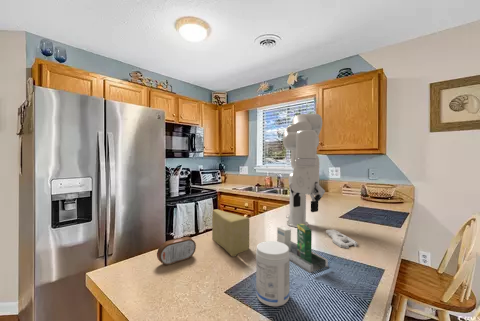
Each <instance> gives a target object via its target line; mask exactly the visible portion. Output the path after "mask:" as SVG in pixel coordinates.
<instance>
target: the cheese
mask: <svg viewBox="0 0 480 321" xmlns="http://www.w3.org/2000/svg"><path fill="white" fill-rule="evenodd" d="M211 217H212V220H211V222H212V224H211V225H212V226H211V227H212V231H211V236H212V237H211V239H212V241H214V242H215V243H217V244H218V245H219V246H220V247H222V248H223V249H224V250H225V251H226V252H227V253H228V254H229V255H230V256H231V257H237V256H238V254H240V253H243V252H246V251H248V250H250V218H249V217H247V216H243V215H241V214H236V213H231V212H227V211H223V210H222V209H213V210H212V216H211Z"/></svg>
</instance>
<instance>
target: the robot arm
mask: <svg viewBox="0 0 480 321" xmlns="http://www.w3.org/2000/svg"><path fill="white" fill-rule="evenodd" d="M291 123H292V124H290V125H288V126H287V127H285V129H284V131H283V136H282V143H283V148H284V149H285V150H287V151H290V164H291V165H290V166H291V168H292V169H293V170H292V172H290V173H289V175H288V188H289V213H288V214H287V215H286V219H288V220H287V221H286V224H287V226H290V227H293V228H297V224H304V225H306V226H307V227H309V222H308V221H307V195H309V196H310V199H311V201H310V212H311V213H316V212H319V201H320V200H321V199H322V198H323V196H324V194H325V193H326V190H325V189H324V188H323V187H322V186H321V185H320V158H319V155H318V154H317V150H318V149H317V148H318V147H319V145H320V137H319V135H320V133H321V131H322V127H323V118H322V116H321V115H320V114H319V113H301V114H300V113H299V114H297V115H295V116H294V117H293V119H292V122H291Z"/></svg>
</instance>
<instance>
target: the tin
mask: <svg viewBox="0 0 480 321" xmlns="http://www.w3.org/2000/svg"><path fill="white" fill-rule="evenodd" d="M196 249H197V244H196V242H195V240H194V239H193V238H192V237H191V236H184V237H180V238H179V237H178V238H175V239H170V240H167V241H165V242H163V243H162V244H161V245H160V246H159V247H158V248H157V252H156V257H157V260H159V262H160V263H161V264H163V265H166V266H169V265H172V264H175V263H179V262H182V261H184V260H188V259H190V258H192V256H193V255H194V254H195V252H196Z"/></svg>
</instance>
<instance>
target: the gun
mask: <svg viewBox="0 0 480 321" xmlns="http://www.w3.org/2000/svg"><path fill="white" fill-rule="evenodd" d="M325 233H326V234H327V235H328V236H329V237H331V238H332V239H331V240H332V241H331V242H332V243H334V244H335V245H336V246H338V247H340V248H342V249H348V250H349V247H350V246H353V247H355V248H356V247H357V246H358V242H357V241H356V240H354V239H352V238H351V237H349V235H348V236H347V235H345V234H343V233H341V231H338V230H336V229H327V230H325Z"/></svg>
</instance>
